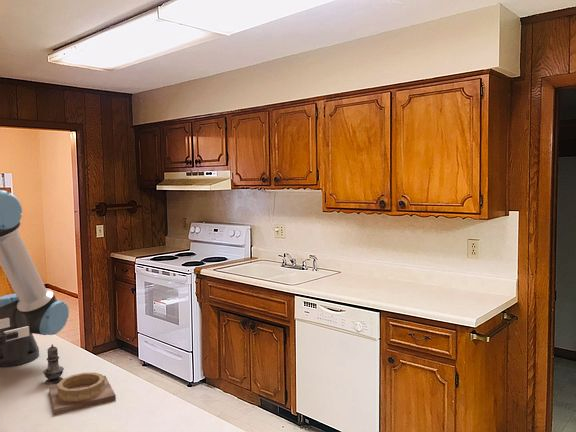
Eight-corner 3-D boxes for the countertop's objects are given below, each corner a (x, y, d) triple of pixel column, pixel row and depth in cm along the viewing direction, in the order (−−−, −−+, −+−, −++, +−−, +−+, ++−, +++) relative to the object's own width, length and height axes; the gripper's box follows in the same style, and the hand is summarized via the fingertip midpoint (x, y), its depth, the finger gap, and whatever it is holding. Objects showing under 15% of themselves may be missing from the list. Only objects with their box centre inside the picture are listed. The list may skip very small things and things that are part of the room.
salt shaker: (56, 385, 149) (54, 348, 148) (39, 384, 150) (37, 346, 149) (68, 377, 154) (66, 341, 153) (52, 376, 156) (50, 340, 154)
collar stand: (49, 392, 144) (48, 377, 144) (105, 380, 152) (104, 366, 152) (54, 414, 131) (53, 398, 130) (115, 400, 139) (115, 385, 138)
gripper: (-81, 349, 135) (2, 330, 151) (-50, 371, 119) (38, 347, 136) (-82, 323, 134) (1, 307, 151) (-52, 341, 118) (37, 321, 135)
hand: (18, 326), depth 143 cm, fingers open, 13 cm apart
